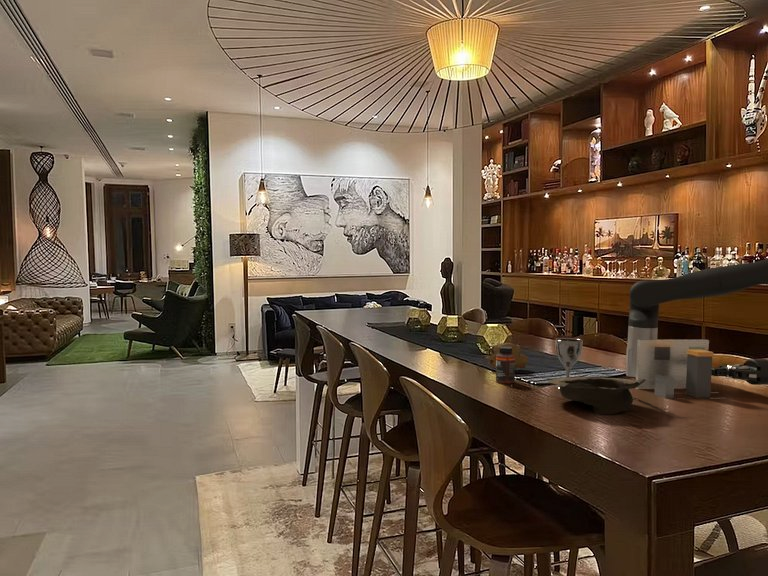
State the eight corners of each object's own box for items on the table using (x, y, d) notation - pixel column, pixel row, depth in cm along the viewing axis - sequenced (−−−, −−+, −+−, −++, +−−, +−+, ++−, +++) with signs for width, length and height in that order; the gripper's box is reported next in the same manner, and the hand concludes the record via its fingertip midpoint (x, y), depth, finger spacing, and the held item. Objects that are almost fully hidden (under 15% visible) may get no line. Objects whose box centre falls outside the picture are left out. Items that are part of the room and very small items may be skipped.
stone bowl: (638, 423, 141) (636, 385, 140) (536, 414, 154) (534, 379, 154) (652, 401, 162) (650, 368, 161) (561, 395, 175) (560, 365, 175)
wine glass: (580, 386, 182) (582, 338, 182) (580, 391, 175) (582, 342, 174) (554, 384, 185) (556, 337, 184) (553, 389, 178) (555, 340, 177)
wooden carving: (522, 368, 211) (523, 341, 211) (529, 370, 207) (530, 342, 206) (481, 370, 206) (482, 342, 206) (488, 372, 202) (489, 343, 201)
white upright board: (703, 391, 180) (706, 339, 179) (741, 403, 165) (744, 347, 164) (635, 391, 176) (637, 339, 175) (667, 404, 161) (670, 347, 160)
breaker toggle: (699, 393, 171) (701, 349, 170) (711, 397, 166) (713, 352, 165) (684, 393, 170) (686, 349, 169) (695, 397, 165) (698, 352, 165)
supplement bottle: (516, 381, 187) (517, 346, 187) (512, 385, 182) (513, 349, 181) (497, 379, 190) (499, 345, 189) (493, 383, 184) (494, 347, 184)
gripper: (748, 355, 177) (697, 355, 175) (784, 363, 164) (729, 363, 162) (746, 379, 178) (695, 380, 175) (783, 389, 165) (728, 390, 162)
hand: (712, 372), depth 168 cm, fingers closed
